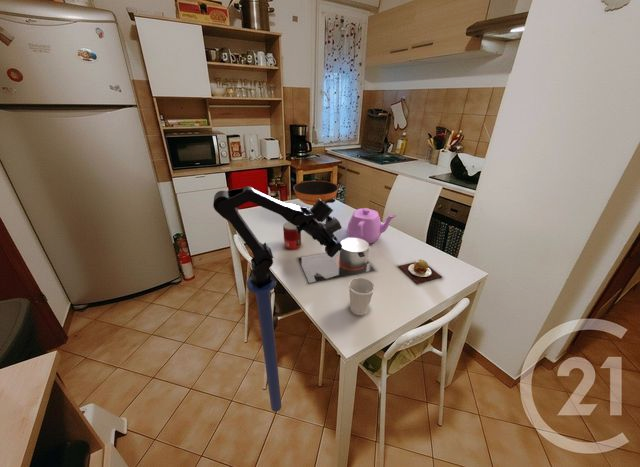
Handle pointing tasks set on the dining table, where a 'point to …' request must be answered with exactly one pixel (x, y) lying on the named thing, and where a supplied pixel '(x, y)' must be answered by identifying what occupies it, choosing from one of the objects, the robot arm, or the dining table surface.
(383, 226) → the teapot
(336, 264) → the hob
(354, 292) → the dixie cup
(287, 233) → the canned food
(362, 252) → the pot
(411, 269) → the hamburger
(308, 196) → the orange pedestal bowl
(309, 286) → the dining table surface
